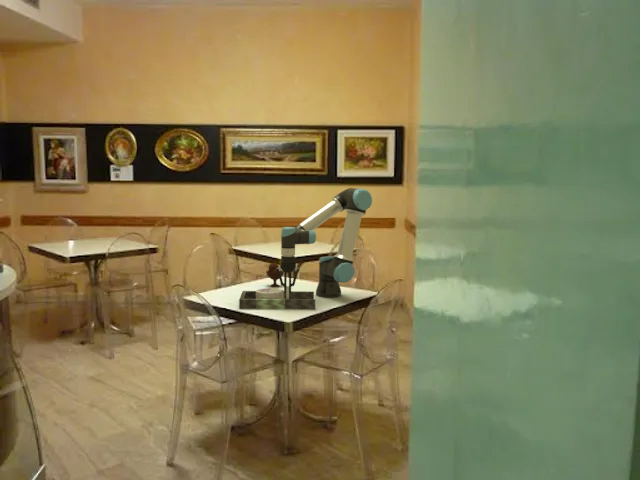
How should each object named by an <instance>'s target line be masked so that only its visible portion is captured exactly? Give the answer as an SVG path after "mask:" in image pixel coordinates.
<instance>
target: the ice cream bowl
mask: <svg viewBox="0 0 640 480" xmlns="http://www.w3.org/2000/svg"><path fill="white" fill-rule="evenodd" d="M278 267H280V265H278V264H277V263H275V262H271V263H270V264H269V265H268V270H266V275H267V277H268V278H270V279H271V280H272V281H273V283H272V284H270V288H279V287H280V285H279V284H277V281H278V280H280V279H279V275H278V272H277V270H276V268H278ZM280 272H281V277H282V278H283V277H284V272H283V270H281V271H280Z"/></svg>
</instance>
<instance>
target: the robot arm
mask: <svg viewBox="0 0 640 480" xmlns="http://www.w3.org/2000/svg"><path fill="white" fill-rule="evenodd" d="M372 203H373V197H372V195H371V193H370V192H369V190H367V189H364V188H353V187H350V188H346V189H344V190H342V191H341V192H339V193H338V194H336V195H334V197H332V198H331V201H329V202H328V203H326V204H325V205H324V206H322V207H321V208H320V209H318V210H316V211H315V212H314V213H313V214H311V215H309V216H308V217H306V218H305V219H304V220H303V221H302V222H300V223H299V224H297V225H296V226H294V227H293V226H284V227H282V228H281V232H280V233H281V235H280V237H281V239H280V240H281V241H280V242H281V243H280V245H281V246H280V251H281V252H280V254H281V258H280V265H279V267H278V268H276V270H277V272H278V275H279V279H278V280H279V282H280V286H283V290H284V293H286V299H289V293H291V291H292V287H294V286H295V285H296V280H297V278H298V273H299V272H300V268H299V267H297V265H296V256H295V255H296V245H310V244H311V245H313V244H315V243H316V240H317V234H316V232H315V230H316V229H317V228H318V227H319V226H321V225H322V224H324V223H325V222H326V221H329V219H330V218H332V217H333V216H335V215H336V214H338V213H343V211H345V212H346V216H345V220H344V225H343V229H342V234H341V238H340V241H339V246H338V250H337V253H336V254H335V255H331V256H321V257H319V262H318V264H319V267H318V269H319V270H318V283H317V286H316V288H315V289H316V290H315V296H317V297H321V298H339V297H341V296H342V290H341V285H340V283H343V284H344V283H347V282H350V281H351V280H352V279H353V277H354V275H355V268H354V266H353V265H354V259H353V253H354V250H355V246H356V241H357V237H358V233H359V229H360V225H361V221H362V218H363V216H365V215H366V212H367V210H368V209H370V208H371V207H372ZM280 271H283V272H284V274H283V276H282V277H281V272H280ZM293 271H295V272H294V275H293V279H292V272H293ZM287 274H288V282H287ZM283 277H284V279H283ZM287 283H288V285H287ZM338 296H339V297H338Z"/></svg>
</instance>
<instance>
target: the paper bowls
mask: <svg viewBox="0 0 640 480" xmlns="http://www.w3.org/2000/svg"><path fill="white" fill-rule="evenodd" d="M255 291H256V299H284V289H282V288H278V287H267V288H266V287H265V288H259V289H256V290H255Z"/></svg>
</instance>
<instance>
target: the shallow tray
mask: <svg viewBox="0 0 640 480" xmlns="http://www.w3.org/2000/svg"><path fill="white" fill-rule="evenodd" d="M238 301H239V302H238V303H239V304H238V305H239V307H238V308H239V309H240V310H316V299H315V292H314V291H306V290H305V291H295V290H294V291H293V290H291V293H289V299H286V293H284V299H256V290H242V292H241V294H240V296H239V299H238Z"/></svg>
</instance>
